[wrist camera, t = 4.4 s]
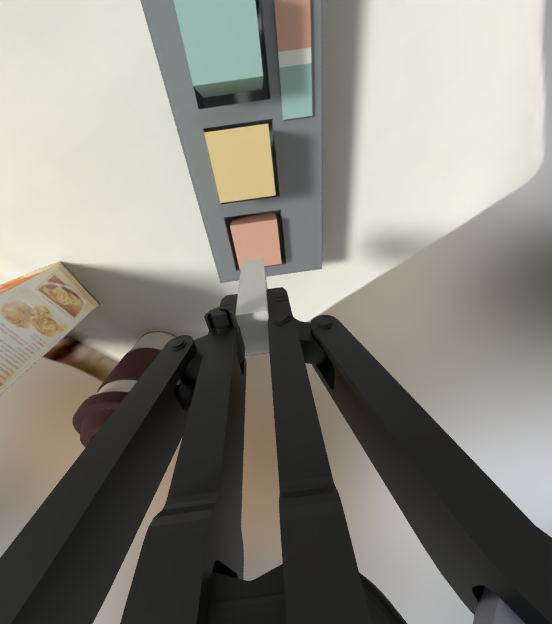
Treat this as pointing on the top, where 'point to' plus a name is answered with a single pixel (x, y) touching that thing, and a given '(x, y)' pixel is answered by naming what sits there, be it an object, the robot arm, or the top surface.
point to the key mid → (241, 162)
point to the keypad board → (255, 111)
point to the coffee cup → (117, 385)
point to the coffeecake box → (37, 317)
